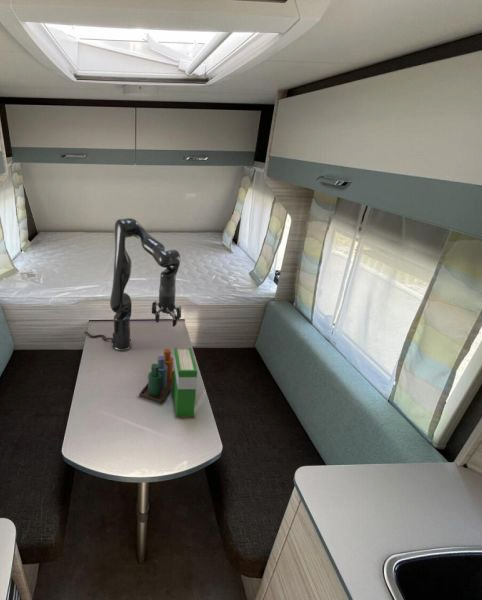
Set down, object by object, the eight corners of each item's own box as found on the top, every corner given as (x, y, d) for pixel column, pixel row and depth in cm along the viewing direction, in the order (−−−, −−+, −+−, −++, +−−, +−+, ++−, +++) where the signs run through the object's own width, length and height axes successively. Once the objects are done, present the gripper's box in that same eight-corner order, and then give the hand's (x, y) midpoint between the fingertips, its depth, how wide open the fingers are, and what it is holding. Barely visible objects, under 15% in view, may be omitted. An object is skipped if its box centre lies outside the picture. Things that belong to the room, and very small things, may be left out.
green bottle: (145, 395, 152) (146, 367, 145) (151, 388, 156) (151, 360, 150) (157, 399, 149) (158, 371, 143) (162, 392, 154) (163, 364, 148)
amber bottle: (158, 379, 163) (159, 352, 157) (163, 372, 168) (164, 346, 162) (169, 382, 161) (170, 355, 154) (174, 376, 166) (175, 349, 159)
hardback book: (172, 390, 156) (174, 347, 147) (188, 390, 156) (191, 347, 147) (176, 417, 140) (178, 371, 130) (193, 417, 140) (197, 371, 130)
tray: (139, 397, 152) (139, 393, 151) (159, 370, 171) (160, 367, 170) (161, 404, 147) (161, 401, 146) (179, 376, 166) (180, 373, 165)
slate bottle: (152, 387, 157) (152, 359, 151) (157, 380, 162) (158, 353, 156) (163, 391, 155) (164, 362, 148) (168, 383, 160) (169, 356, 153)
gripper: (184, 293, 150) (182, 324, 157) (156, 287, 156) (155, 317, 163) (178, 298, 144) (176, 330, 151) (149, 292, 150) (149, 323, 157)
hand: (165, 323), depth 157 cm, fingers open, 8 cm apart
